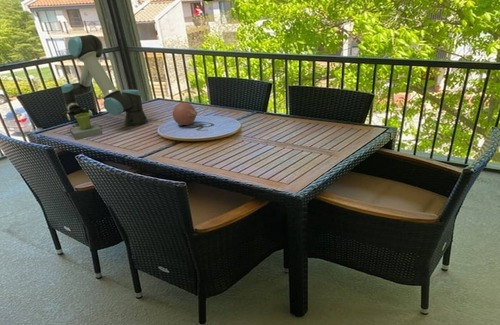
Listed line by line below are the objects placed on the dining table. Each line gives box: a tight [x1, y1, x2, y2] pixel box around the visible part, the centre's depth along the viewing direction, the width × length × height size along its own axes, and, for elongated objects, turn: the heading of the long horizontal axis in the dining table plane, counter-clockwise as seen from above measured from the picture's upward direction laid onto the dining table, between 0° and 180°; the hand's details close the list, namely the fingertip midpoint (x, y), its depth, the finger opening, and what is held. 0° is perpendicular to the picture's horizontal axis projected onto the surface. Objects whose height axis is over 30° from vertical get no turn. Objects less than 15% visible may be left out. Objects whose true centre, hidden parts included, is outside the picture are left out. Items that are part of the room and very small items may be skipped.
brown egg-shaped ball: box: [172, 102, 198, 126], centre depth 233 cm, size 15×20×15 cm
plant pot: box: [74, 112, 91, 129], centre depth 226 cm, size 9×9×9 cm
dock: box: [69, 122, 102, 141], centre depth 228 cm, size 16×14×4 cm
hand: (80, 116), depth 226 cm, fingers open, 13 cm apart
